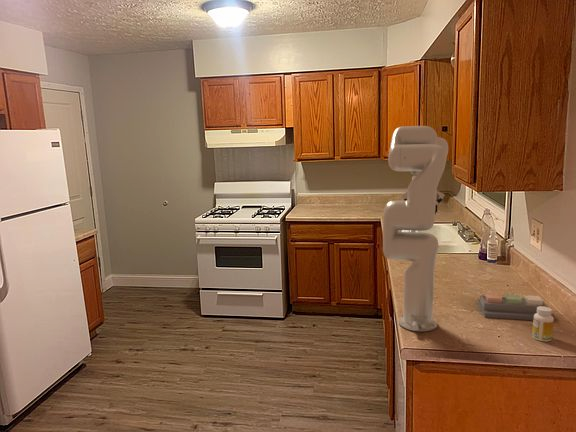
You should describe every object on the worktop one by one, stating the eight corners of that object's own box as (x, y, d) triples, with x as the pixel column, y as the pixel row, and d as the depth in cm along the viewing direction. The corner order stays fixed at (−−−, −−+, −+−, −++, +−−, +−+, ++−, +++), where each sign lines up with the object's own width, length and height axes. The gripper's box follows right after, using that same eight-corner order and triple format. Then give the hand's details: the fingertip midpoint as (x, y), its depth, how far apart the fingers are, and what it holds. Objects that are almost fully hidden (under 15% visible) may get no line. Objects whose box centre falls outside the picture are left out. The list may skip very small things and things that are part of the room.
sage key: (521, 308, 153) (522, 299, 153) (507, 307, 154) (508, 298, 154) (518, 303, 158) (518, 294, 157) (504, 302, 159) (504, 294, 158)
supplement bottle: (553, 337, 137) (556, 308, 135) (549, 343, 133) (552, 313, 131) (534, 332, 140) (536, 303, 139) (529, 338, 137) (532, 309, 135)
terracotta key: (501, 307, 155) (502, 298, 154) (487, 306, 156) (488, 297, 155) (498, 302, 159) (499, 293, 159) (484, 301, 160) (485, 293, 160)
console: (551, 321, 148) (552, 310, 147) (484, 317, 153) (485, 306, 152) (538, 306, 161) (539, 296, 160) (477, 303, 165) (477, 293, 164)
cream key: (542, 309, 152) (543, 300, 151) (527, 308, 153) (528, 300, 152) (537, 304, 156) (538, 296, 156) (523, 303, 157) (524, 295, 157)
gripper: (404, 174, 177) (403, 216, 180) (447, 173, 176) (446, 215, 179) (400, 172, 184) (399, 212, 187) (442, 172, 183) (440, 212, 186)
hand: (422, 214), depth 183 cm, fingers open, 9 cm apart
